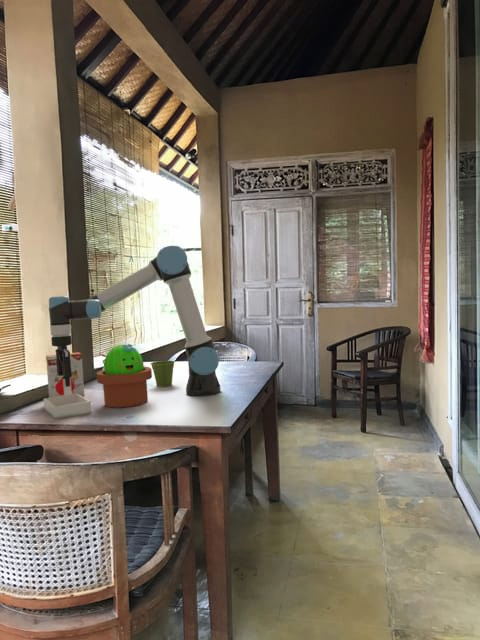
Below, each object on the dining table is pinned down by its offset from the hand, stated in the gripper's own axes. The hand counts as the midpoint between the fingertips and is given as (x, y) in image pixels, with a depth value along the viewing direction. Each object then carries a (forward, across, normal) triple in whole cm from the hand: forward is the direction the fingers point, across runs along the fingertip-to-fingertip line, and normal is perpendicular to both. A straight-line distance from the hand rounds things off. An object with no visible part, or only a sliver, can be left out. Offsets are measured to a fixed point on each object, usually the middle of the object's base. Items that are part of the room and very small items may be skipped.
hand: (65, 392), depth 199 cm
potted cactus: (+7, -4, -23) cm, 25 cm away
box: (+7, 0, 0) cm, 7 cm away
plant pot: (+7, +19, -50) cm, 54 cm away
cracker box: (+8, +17, -4) cm, 19 cm away
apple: (+1, 0, 0) cm, 1 cm away
